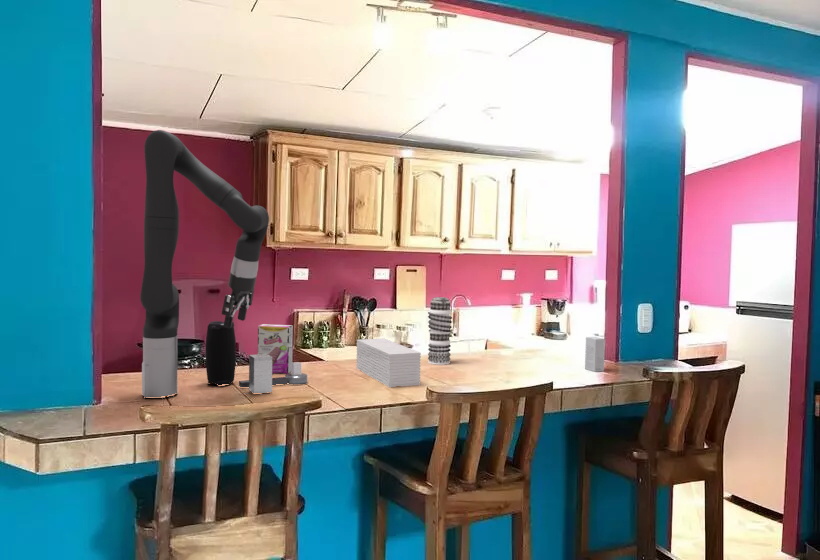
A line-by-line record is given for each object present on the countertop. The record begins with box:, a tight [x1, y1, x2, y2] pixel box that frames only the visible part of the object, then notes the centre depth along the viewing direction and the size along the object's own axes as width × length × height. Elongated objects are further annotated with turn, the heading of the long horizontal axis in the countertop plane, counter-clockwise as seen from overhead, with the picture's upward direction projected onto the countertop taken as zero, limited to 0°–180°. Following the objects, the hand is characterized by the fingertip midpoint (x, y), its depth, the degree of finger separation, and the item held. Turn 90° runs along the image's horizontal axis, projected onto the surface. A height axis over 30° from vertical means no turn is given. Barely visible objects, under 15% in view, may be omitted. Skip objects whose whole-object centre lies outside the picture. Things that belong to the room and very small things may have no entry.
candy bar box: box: [257, 323, 294, 375], centre depth 219 cm, size 11×5×16 cm, turn 84°
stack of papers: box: [356, 338, 422, 388], centre depth 216 cm, size 32×11×11 cm, turn 24°
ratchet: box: [238, 361, 308, 387], centre depth 200 cm, size 22×7×6 cm, turn 120°
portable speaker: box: [205, 320, 237, 386], centre depth 199 cm, size 9×9×20 cm
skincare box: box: [584, 336, 606, 373], centre depth 234 cm, size 6×4×12 cm
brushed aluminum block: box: [248, 353, 273, 393], centre depth 190 cm, size 5×5×11 cm
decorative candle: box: [427, 296, 453, 366], centre depth 243 cm, size 9×9×25 cm
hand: (234, 323), depth 190 cm, fingers open, 8 cm apart
